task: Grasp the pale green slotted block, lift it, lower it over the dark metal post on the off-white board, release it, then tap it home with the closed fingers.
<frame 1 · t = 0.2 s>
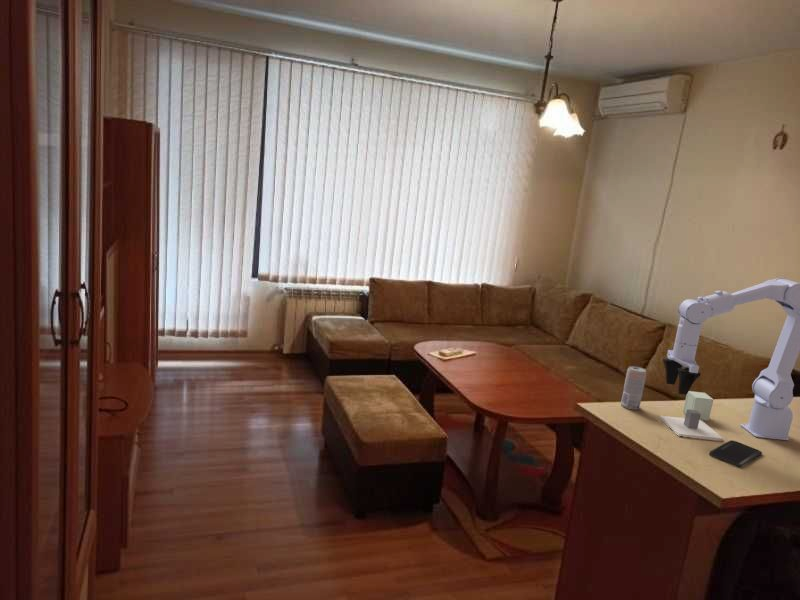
hand: (676, 388, 163), 10 cm above the table, tool pointing down, fingers open, 7 cm apart
phone: (734, 456, 148), on the table
pale green slotted block: (695, 415, 172), on the table
post board: (689, 429, 161), on the table
energy drink: (629, 407, 174), on the table
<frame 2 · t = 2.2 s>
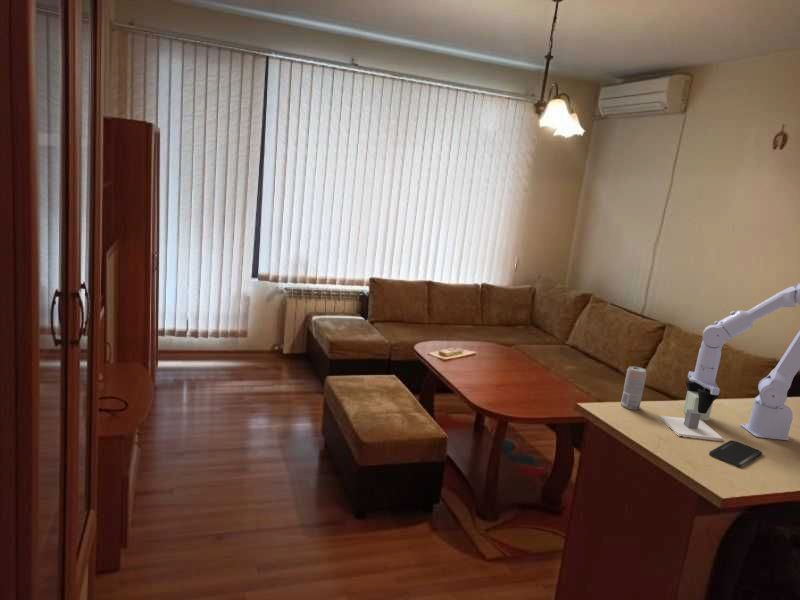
hand: (697, 408, 172), 2 cm above the table, tool pointing down, fingers closed on pale green slotted block, 5 cm apart
pale green slotted block: (695, 415, 172), on the table, touching gripper
everything else where it was.
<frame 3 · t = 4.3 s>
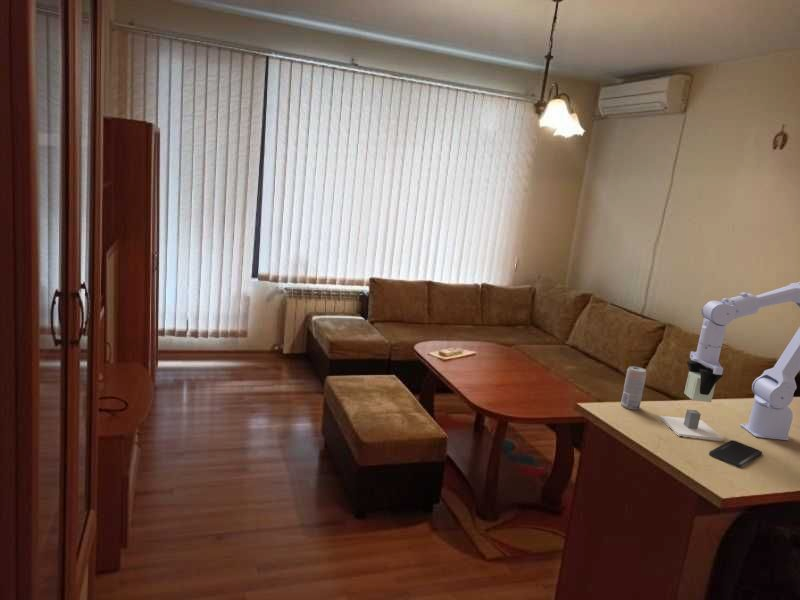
hand: (699, 390, 163), 10 cm above the table, tool pointing down, fingers closed on pale green slotted block, 5 cm apart
pale green slotted block: (697, 397, 163), point 8 cm above the table, touching gripper
everything else where it was.
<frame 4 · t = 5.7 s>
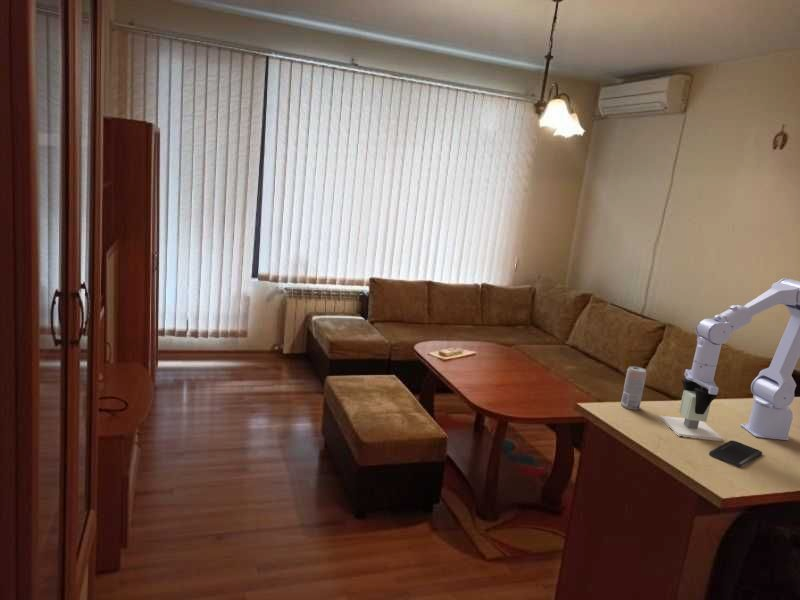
hand: (694, 409, 160), 6 cm above the table, tool pointing down, fingers closed on pale green slotted block, 5 cm apart
pale green slotted block: (692, 416, 161), point 4 cm above the table, touching gripper
everything else where it was.
when the fingers open (4 cm above the table, at t = 6.6 s): pale green slotted block drops 1 cm, resting on post board.
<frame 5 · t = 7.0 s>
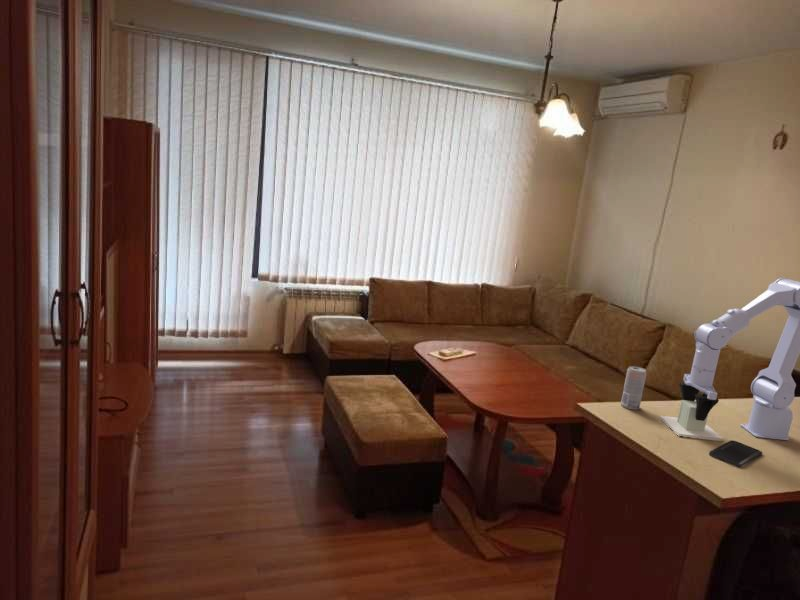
hand: (693, 414, 161), 5 cm above the table, tool pointing down, fingers open, 7 cm apart
pale green slotted block: (690, 426, 161), point 1 cm above the table, touching post board
everything else where it was.
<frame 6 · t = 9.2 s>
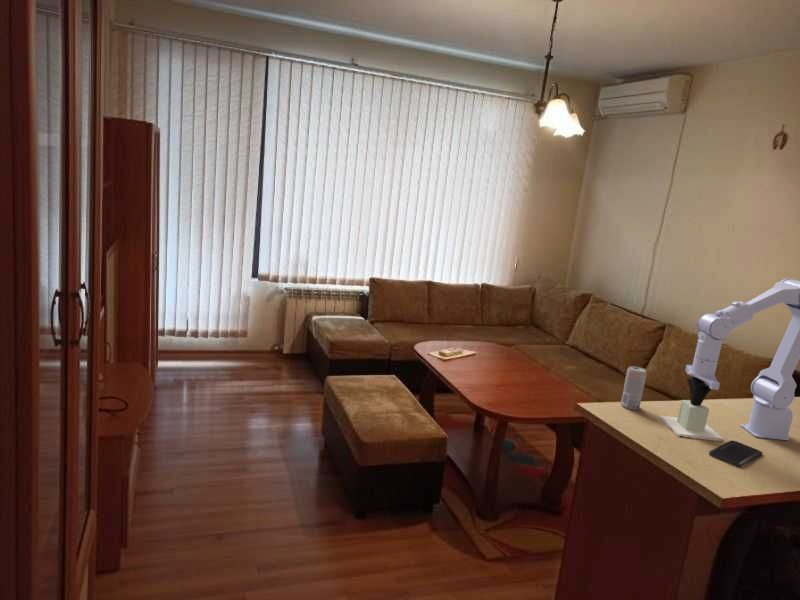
hand: (695, 404, 160), 7 cm above the table, tool pointing down, fingers closed, pressing on pale green slotted block
pale green slotted block: (690, 426, 161), point 1 cm above the table, touching gripper, post board
everything else where it was.
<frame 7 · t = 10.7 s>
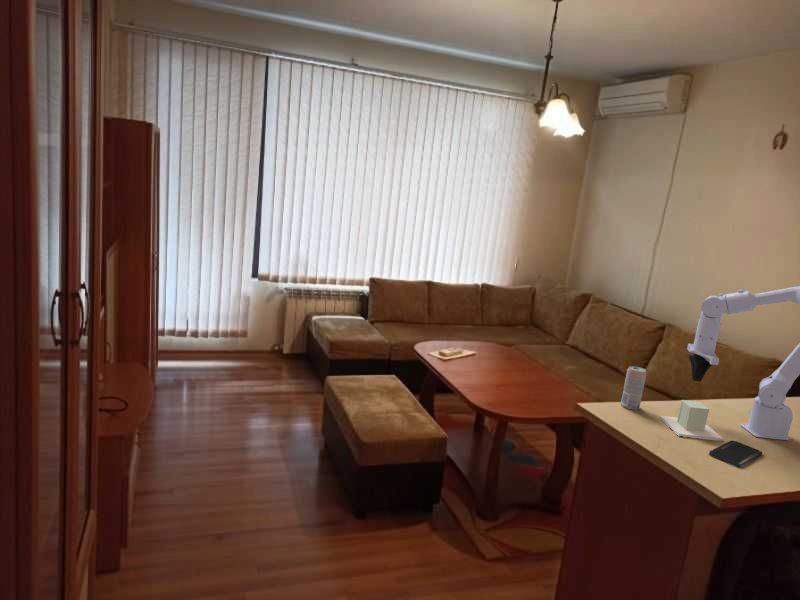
hand: (696, 380, 172), 10 cm above the table, tool pointing down, fingers closed
pale green slotted block: (690, 426, 161), point 1 cm above the table, touching post board
everything else where it was.
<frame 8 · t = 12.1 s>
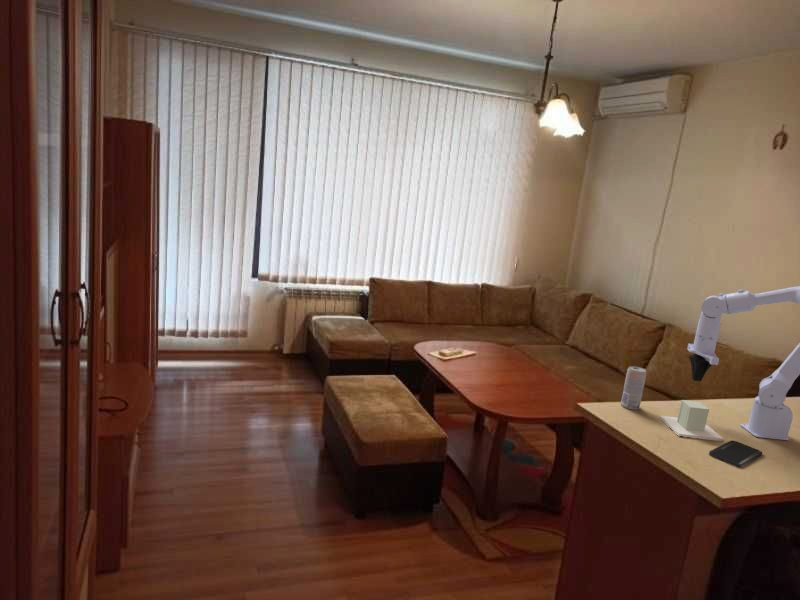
hand: (696, 380, 172), 10 cm above the table, tool pointing down, fingers closed
nothing on the table moved.
at the end: pale green slotted block 0.1 cm from the post board (horizontally); pale green slotted block point 0.8 cm above the table; pale green slotted block tilted 0° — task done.
